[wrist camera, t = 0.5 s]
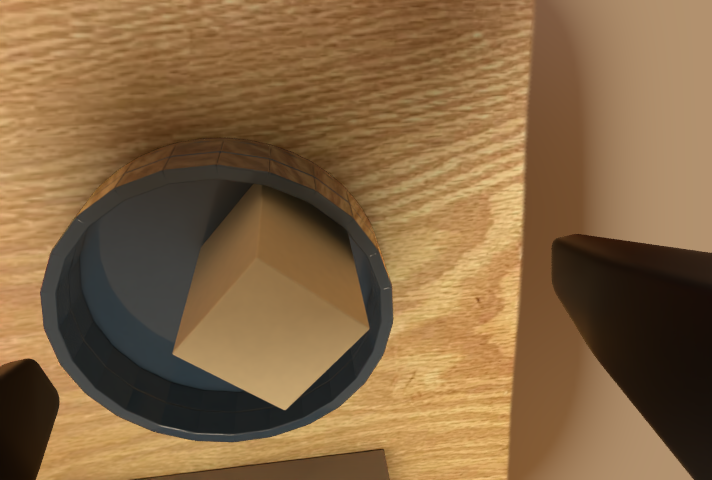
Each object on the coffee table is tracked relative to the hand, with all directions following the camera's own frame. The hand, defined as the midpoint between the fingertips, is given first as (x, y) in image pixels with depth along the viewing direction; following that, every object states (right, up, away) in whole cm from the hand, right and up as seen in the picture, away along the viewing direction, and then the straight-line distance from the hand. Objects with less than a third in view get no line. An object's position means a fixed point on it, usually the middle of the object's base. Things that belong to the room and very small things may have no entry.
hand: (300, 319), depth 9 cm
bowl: (-5, -1, +18) cm, 18 cm away
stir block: (-3, +1, +16) cm, 16 cm away
